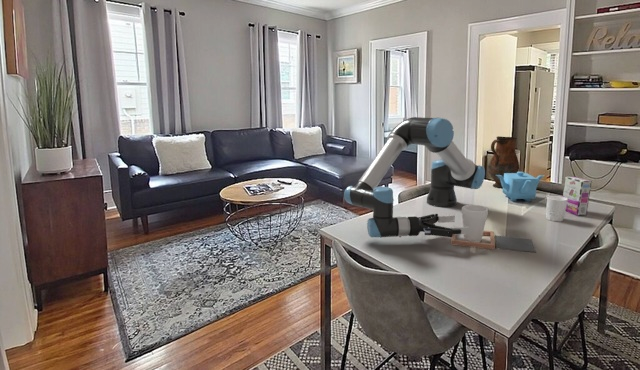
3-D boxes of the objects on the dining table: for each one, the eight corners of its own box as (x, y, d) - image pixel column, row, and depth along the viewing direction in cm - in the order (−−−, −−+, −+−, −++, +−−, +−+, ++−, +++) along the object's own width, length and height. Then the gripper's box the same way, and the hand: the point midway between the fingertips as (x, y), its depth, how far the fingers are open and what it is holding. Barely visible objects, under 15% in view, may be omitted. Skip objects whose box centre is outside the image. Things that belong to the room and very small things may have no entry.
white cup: (567, 222, 169) (570, 200, 167) (548, 221, 171) (550, 200, 168) (560, 216, 176) (563, 195, 174) (541, 216, 178) (544, 195, 176)
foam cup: (463, 233, 159) (465, 203, 156) (487, 237, 154) (490, 206, 151) (457, 241, 151) (459, 209, 148) (482, 245, 146) (484, 213, 143)
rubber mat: (496, 248, 144) (496, 247, 144) (495, 236, 155) (495, 235, 155) (536, 252, 139) (536, 251, 139) (531, 240, 151) (531, 239, 151)
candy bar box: (587, 215, 177) (592, 181, 173) (577, 216, 177) (582, 181, 173) (570, 208, 188) (574, 175, 184) (560, 209, 188) (564, 176, 184)
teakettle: (509, 192, 219) (511, 167, 216) (544, 199, 205) (547, 172, 201) (492, 198, 208) (494, 172, 205) (527, 206, 194) (530, 177, 190)
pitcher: (523, 186, 230) (528, 136, 223) (501, 192, 220) (506, 140, 213) (498, 181, 244) (502, 134, 237) (476, 186, 234) (480, 137, 227)
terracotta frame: (450, 244, 149) (451, 240, 148) (453, 230, 162) (453, 227, 162) (494, 249, 143) (494, 245, 143) (493, 235, 157) (493, 231, 156)
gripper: (399, 224, 162) (448, 222, 163) (416, 248, 138) (474, 245, 139) (399, 207, 161) (449, 205, 162) (417, 228, 137) (475, 225, 137)
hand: (461, 224), depth 150 cm, fingers open, 13 cm apart
